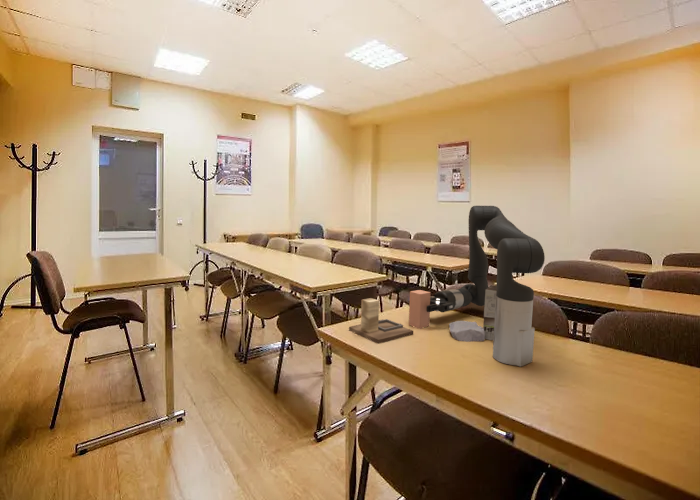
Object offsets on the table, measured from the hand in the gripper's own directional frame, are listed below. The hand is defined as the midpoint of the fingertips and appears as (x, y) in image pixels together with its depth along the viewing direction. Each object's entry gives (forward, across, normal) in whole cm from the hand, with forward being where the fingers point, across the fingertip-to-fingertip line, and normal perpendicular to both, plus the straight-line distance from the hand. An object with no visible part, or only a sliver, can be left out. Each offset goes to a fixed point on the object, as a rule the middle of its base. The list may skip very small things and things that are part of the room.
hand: (418, 306), depth 131 cm
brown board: (+15, -2, +7) cm, 17 cm away
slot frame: (+12, -3, +6) cm, 14 cm away
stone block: (-6, +15, +8) cm, 18 cm away
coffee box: (-13, +22, +7) cm, 26 cm away
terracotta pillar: (-1, 0, +7) cm, 7 cm away
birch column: (+19, -3, +6) cm, 20 cm away
